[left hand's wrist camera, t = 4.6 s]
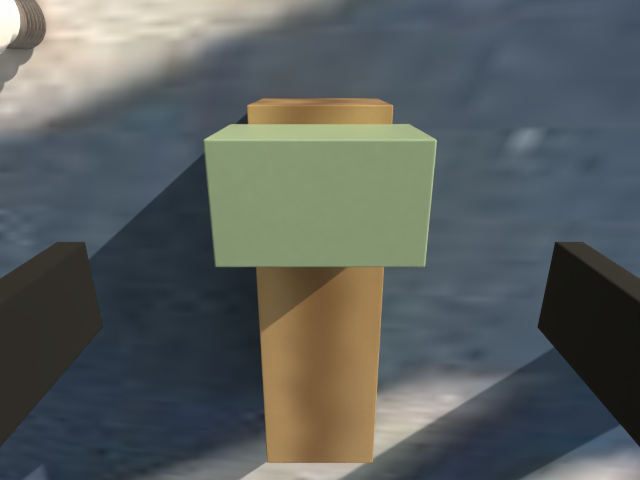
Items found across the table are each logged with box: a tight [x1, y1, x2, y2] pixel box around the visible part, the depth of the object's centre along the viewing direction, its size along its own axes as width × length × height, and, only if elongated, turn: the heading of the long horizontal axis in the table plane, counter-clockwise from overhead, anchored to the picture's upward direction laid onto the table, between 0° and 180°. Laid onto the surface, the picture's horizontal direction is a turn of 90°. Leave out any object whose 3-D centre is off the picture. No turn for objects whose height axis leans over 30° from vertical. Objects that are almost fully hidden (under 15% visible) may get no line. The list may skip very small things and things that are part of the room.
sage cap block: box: [203, 124, 437, 267], centre depth 22 cm, size 10×6×6 cm, turn 90°
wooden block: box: [247, 98, 393, 463], centre depth 32 cm, size 8×26×7 cm, turn 0°
